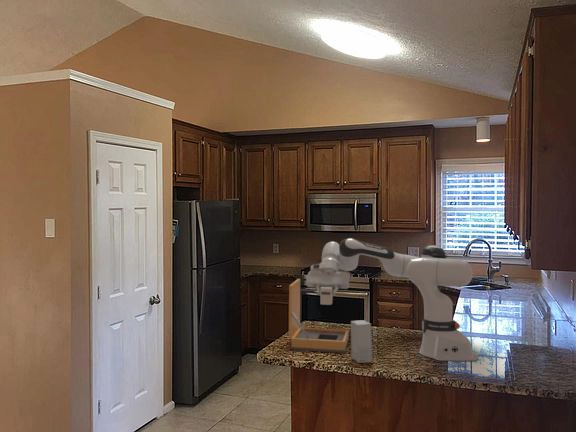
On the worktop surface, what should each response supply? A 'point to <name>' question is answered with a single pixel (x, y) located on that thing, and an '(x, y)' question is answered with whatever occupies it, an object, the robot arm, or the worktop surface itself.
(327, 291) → the plate
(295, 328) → the equipment case
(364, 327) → the skincare box
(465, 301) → the worktop surface
